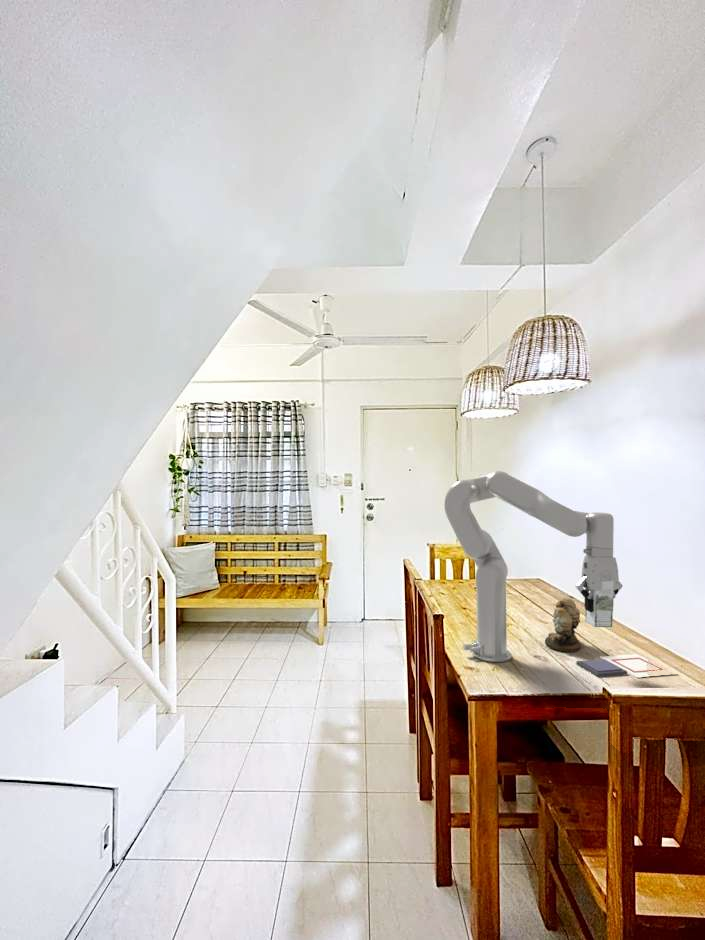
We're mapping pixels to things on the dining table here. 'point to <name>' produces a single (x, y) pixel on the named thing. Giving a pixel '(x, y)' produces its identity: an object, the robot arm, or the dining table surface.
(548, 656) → the dining table surface
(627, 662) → the marked sheet
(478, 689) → the dining table surface
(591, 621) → the syrup box
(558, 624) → the tan lumpy figure
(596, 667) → the ink pad
